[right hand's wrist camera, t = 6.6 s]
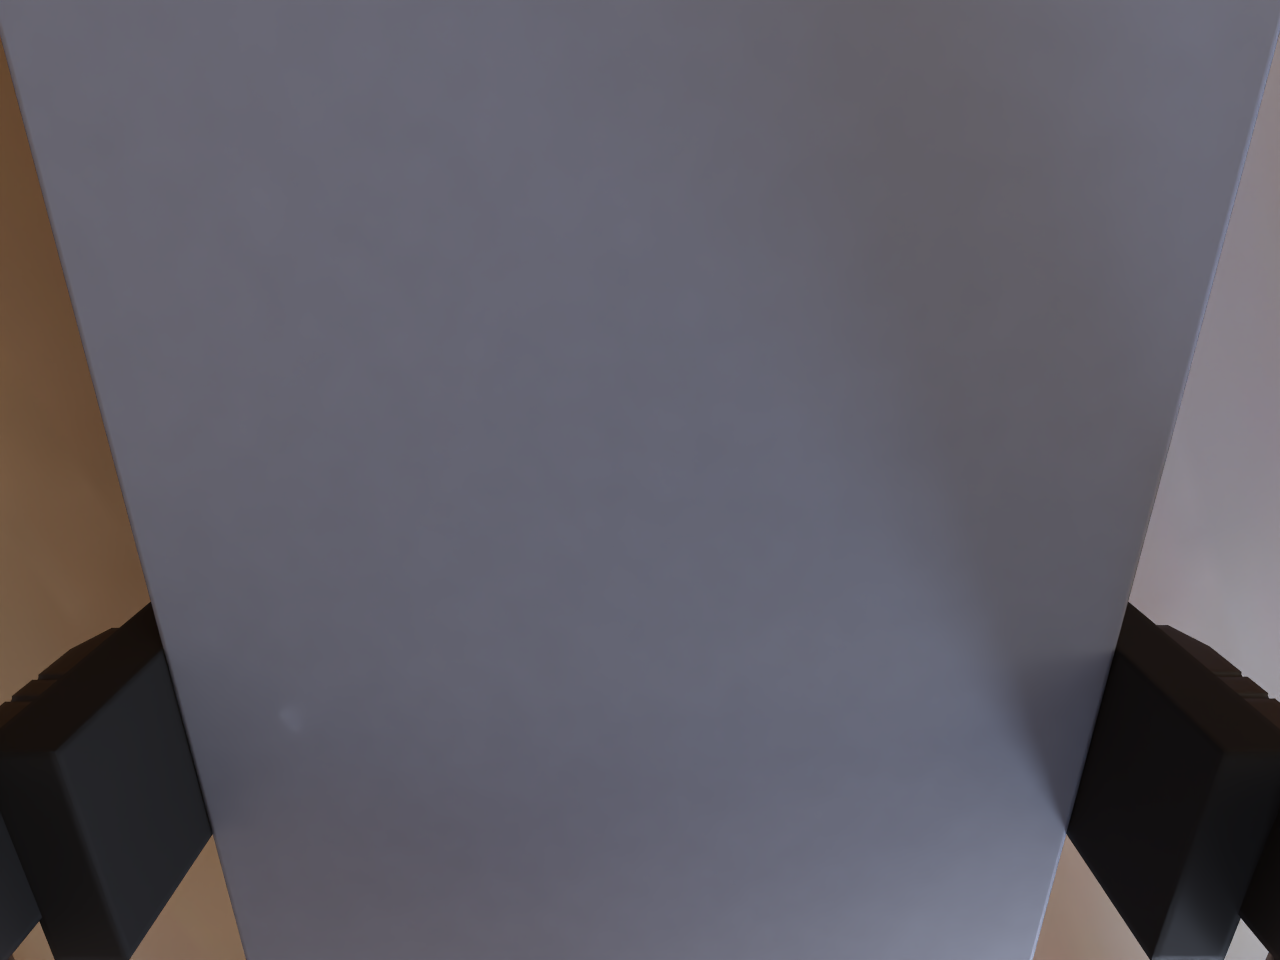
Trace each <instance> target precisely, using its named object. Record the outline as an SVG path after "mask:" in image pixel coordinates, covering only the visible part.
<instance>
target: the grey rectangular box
mask: <svg viewBox="0 0 1280 960" xmlns="http://www.w3.org/2000/svg"><path fill="white" fill-rule="evenodd" d="M1279 32H1280V0H0V36H1V40H2V44H3V48H4V51H5V55H6V59H7V63H8V66H9V70H10V74H11V78H12V82H13V85H14V89H15V93H16V97H17V100H18V104H19V108H20V112H21V115H22V119H23V123H24V127H25V130H26V134H27V138H28V142H29V145H30V149H31V153H32V157H33V160H34V164H35V168H36V172H37V175H38V179H39V183H40V187H41V190H42V194H43V198H44V202H45V205H46V209H47V213H48V217H49V220H50V224H51V228H52V232H53V235H54V239H55V243H56V247H57V251H58V254H59V258H60V262H61V266H62V269H63V273H64V277H65V281H66V284H67V288H68V292H69V296H70V299H71V303H72V307H73V311H74V314H75V318H76V322H77V326H78V329H79V333H80V337H81V341H82V344H83V348H84V352H85V356H86V359H87V363H88V367H89V371H90V374H91V378H92V382H93V386H94V389H95V393H96V397H97V401H98V405H99V408H100V412H101V416H102V420H103V423H104V427H105V431H106V435H107V438H108V442H109V446H110V450H111V453H112V457H113V461H114V465H115V468H116V472H117V476H118V480H119V483H120V487H121V491H122V495H123V498H124V502H125V506H126V510H127V513H128V517H129V521H130V525H131V528H132V532H133V536H134V540H135V543H136V547H137V551H138V555H139V558H140V562H141V566H142V570H143V574H144V577H145V581H146V585H147V589H148V592H149V596H150V600H151V604H152V607H153V611H154V615H155V619H156V622H157V626H158V630H159V634H160V637H161V641H162V645H163V649H164V652H165V656H166V660H167V664H168V667H169V671H170V675H171V679H172V682H173V686H174V690H175V694H176V697H177V701H178V705H179V709H180V712H181V716H182V720H183V724H184V728H185V731H186V735H187V739H188V743H189V746H190V750H191V754H192V758H193V761H194V765H195V769H196V773H197V776H198V780H199V784H200V788H201V791H202V795H203V799H204V803H205V806H206V810H207V814H208V818H209V821H210V825H211V829H212V833H213V836H214V840H215V844H216V848H217V851H218V855H219V859H220V863H221V866H222V870H223V874H224V878H225V882H226V885H227V889H228V893H229V897H230V900H231V904H232V908H233V912H234V915H235V919H236V923H237V927H238V930H239V934H240V938H241V942H242V945H243V949H244V953H245V957H246V960H1033V957H1034V953H1035V949H1036V945H1037V942H1038V938H1039V934H1040V930H1041V927H1042V923H1043V919H1044V915H1045V911H1046V908H1047V904H1048V900H1049V896H1050V893H1051V889H1052V885H1053V881H1054V878H1055V874H1056V870H1057V866H1058V863H1059V859H1060V855H1061V851H1062V848H1063V844H1064V840H1065V836H1066V833H1067V829H1068V825H1069V821H1070V818H1071V814H1072V810H1073V806H1074V803H1075V799H1076V795H1077V791H1078V788H1079V784H1080V780H1081V776H1082V773H1083V769H1084V765H1085V761H1086V757H1087V754H1088V750H1089V746H1090V742H1091V739H1092V735H1093V731H1094V727H1095V724H1096V720H1097V716H1098V712H1099V709H1100V705H1101V701H1102V697H1103V694H1104V690H1105V686H1106V682H1107V679H1108V675H1109V671H1110V667H1111V664H1112V660H1113V656H1114V652H1115V649H1116V645H1117V641H1118V637H1119V634H1120V630H1121V626H1122V622H1123V618H1124V615H1125V611H1126V607H1127V603H1128V600H1129V596H1130V592H1131V588H1132V585H1133V581H1134V577H1135V573H1136V570H1137V566H1138V562H1139V558H1140V555H1141V551H1142V547H1143V543H1144V540H1145V536H1146V532H1147V528H1148V525H1149V521H1150V517H1151V513H1152V510H1153V506H1154V502H1155V498H1156V495H1157V491H1158V487H1159V483H1160V479H1161V476H1162V472H1163V468H1164V464H1165V461H1166V457H1167V453H1168V449H1169V446H1170V442H1171V438H1172V434H1173V431H1174V427H1175V423H1176V419H1177V416H1178V412H1179V408H1180V404H1181V401H1182V397H1183V393H1184V389H1185V386H1186V382H1187V378H1188V374H1189V371H1190V367H1191V363H1192V359H1193V356H1194V352H1195V348H1196V344H1197V341H1198V337H1199V333H1200V329H1201V325H1202V322H1203V318H1204V314H1205V310H1206V307H1207V303H1208V299H1209V295H1210V292H1211V288H1212V284H1213V280H1214V277H1215V273H1216V269H1217V265H1218V262H1219V258H1220V254H1221V250H1222V247H1223V243H1224V239H1225V235H1226V232H1227V228H1228V224H1229V220H1230V217H1231V213H1232V209H1233V205H1234V202H1235V198H1236V194H1237V190H1238V186H1239V183H1240V179H1241V175H1242V171H1243V168H1244V164H1245V160H1246V156H1247V153H1248V149H1249V145H1250V141H1251V138H1252V134H1253V130H1254V126H1255V123H1256V119H1257V115H1258V111H1259V108H1260V104H1261V100H1262V96H1263V93H1264V89H1265V85H1266V81H1267V78H1268V74H1269V70H1270V66H1271V63H1272V59H1273V55H1274V51H1275V48H1276V44H1277V40H1278V36H1279Z"/></svg>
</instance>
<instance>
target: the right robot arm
mask: <svg viewBox="0 0 1280 960" xmlns="http://www.w3.org/2000/svg"><path fill="white" fill-rule="evenodd" d="M212 834H213V833H212V829H211V825H210V821H209V818H208V814H207V810H206V806H205V803H204V799H203V795H202V791H201V788H200V784H199V780H198V776H197V773H196V769H195V765H194V761H193V758H192V754H191V750H190V746H189V743H188V739H187V735H186V731H185V728H184V724H183V720H182V716H181V712H180V709H179V705H178V701H177V697H176V694H175V690H174V686H173V682H172V679H171V675H170V671H169V667H168V664H167V660H166V656H165V652H164V649H163V645H162V641H161V637H160V634H159V630H158V626H157V622H156V619H155V615H154V611H153V607H152V604H151V602H150V603H149V604H147V605H146V606H145V607H144V608H143V609H142V610H140V611H139V612H138V613H137V614H136V615H134V616H133V617H132V618H131V619H130V620H128V621H127V622H126V623H125V624H124V625H122V626H121V627H120V628H111V629H109V630H107V631H105V632H103V633H101V634H99V635H97V636H95V637H93V638H91V639H89V640H88V641H86V642H84V643H82V644H80V645H78V646H76V647H74V648H72V649H70V650H69V651H68V652H66V653H65V654H64V655H63V656H61V657H60V658H59V659H58V660H56V661H55V662H54V663H53V664H51V665H50V666H49V667H48V668H46V669H45V670H44V671H43V672H41V673H40V674H39V678H38V680H31V681H30V682H29V683H28V684H27V685H25V686H24V687H23V688H22V689H20V690H19V691H18V692H17V693H15V694H14V695H13V696H12V700H11V702H4V703H3V704H2V705H0V960H14V958H13V955H12V953H13V952H14V951H15V950H16V949H17V947H18V946H19V945H20V944H21V943H22V941H23V940H24V939H25V938H26V936H27V935H28V934H29V933H30V932H31V930H32V929H33V928H34V927H35V926H36V924H37V923H38V922H39V921H40V924H41V926H42V929H43V931H44V934H45V936H46V939H47V941H48V944H49V946H50V949H51V951H52V954H53V956H54V959H55V960H129V959H130V958H131V956H132V955H133V953H134V952H135V950H136V949H137V947H138V946H139V944H140V943H141V941H142V940H143V938H144V937H145V935H146V934H147V932H148V931H149V929H150V928H151V926H152V925H153V923H154V922H155V920H156V918H157V917H158V915H159V914H160V912H161V911H162V909H163V908H164V906H165V905H166V903H167V902H168V900H169V899H170V897H171V896H172V894H173V893H174V891H175V890H176V888H177V887H178V885H179V884H180V882H181V881H182V879H183V878H184V876H185V875H186V873H187V872H188V870H189V869H190V867H191V866H192V864H193V863H194V861H195V860H196V858H197V857H198V855H199V854H200V852H201V851H202V849H203V848H204V846H205V845H206V843H207V842H208V840H209V839H210V837H211V836H212ZM1066 834H1067V835H1068V837H1069V838H1070V840H1071V841H1072V843H1073V844H1074V846H1075V847H1076V849H1077V850H1078V852H1079V853H1080V855H1081V856H1082V858H1083V859H1084V861H1085V863H1086V864H1087V866H1088V867H1089V869H1090V870H1091V872H1092V873H1093V875H1094V876H1095V878H1096V879H1097V881H1098V882H1099V884H1100V885H1101V887H1102V888H1103V890H1104V891H1105V893H1106V894H1107V896H1108V897H1109V899H1110V900H1111V902H1112V903H1113V905H1114V906H1115V908H1116V909H1117V911H1118V912H1119V914H1120V915H1121V917H1122V918H1123V920H1124V921H1125V923H1126V924H1127V926H1128V927H1129V929H1130V930H1131V932H1132V933H1133V935H1134V936H1135V938H1136V939H1137V941H1138V942H1139V944H1140V945H1141V947H1142V948H1143V950H1144V951H1145V953H1146V954H1147V956H1148V957H1149V959H1150V960H1224V958H1225V956H1226V953H1227V951H1228V948H1229V946H1230V943H1231V941H1232V938H1233V936H1234V933H1235V931H1236V928H1237V926H1238V923H1239V921H1240V918H1241V919H1242V920H1243V921H1244V922H1245V923H1246V925H1247V926H1248V927H1249V928H1250V930H1251V931H1252V932H1253V933H1254V934H1255V936H1256V937H1257V938H1258V939H1259V940H1260V942H1261V943H1262V944H1263V945H1264V946H1265V948H1266V949H1267V950H1268V951H1269V953H1268V955H1267V958H1266V960H1280V702H1278V701H1277V700H1276V699H1269V698H1268V693H1267V692H1266V691H1265V690H1263V689H1262V688H1261V687H1260V686H1258V685H1257V684H1256V683H1255V682H1253V681H1252V680H1251V679H1250V678H1248V677H1242V675H1241V671H1240V670H1238V669H1237V668H1236V667H1235V666H1233V665H1232V664H1231V663H1230V662H1228V661H1227V660H1226V659H1225V658H1223V657H1222V656H1221V655H1220V654H1218V653H1217V652H1216V651H1215V650H1213V649H1212V648H1211V647H1209V646H1208V645H1206V644H1204V643H1202V642H1200V641H1198V640H1196V639H1194V638H1192V637H1190V636H1188V635H1186V634H1184V633H1182V632H1180V631H1178V630H1176V629H1174V628H1172V627H1170V626H1168V625H1155V624H1154V623H1153V622H1152V621H1151V620H1150V619H1148V618H1147V617H1146V616H1145V615H1144V614H1142V613H1141V612H1140V611H1139V610H1138V609H1136V608H1135V607H1134V606H1133V605H1132V604H1130V603H1129V602H1128V603H1127V607H1126V611H1125V615H1124V618H1123V622H1122V626H1121V630H1120V634H1119V637H1118V641H1117V645H1116V649H1115V652H1114V656H1113V660H1112V664H1111V667H1110V671H1109V675H1108V679H1107V682H1106V686H1105V690H1104V694H1103V697H1102V701H1101V705H1100V709H1099V712H1098V716H1097V720H1096V724H1095V727H1094V731H1093V735H1092V739H1091V742H1090V746H1089V750H1088V754H1087V757H1086V761H1085V765H1084V769H1083V773H1082V776H1081V780H1080V784H1079V788H1078V791H1077V795H1076V799H1075V803H1074V806H1073V810H1072V814H1071V818H1070V821H1069V825H1068V829H1067V833H1066Z"/></svg>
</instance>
